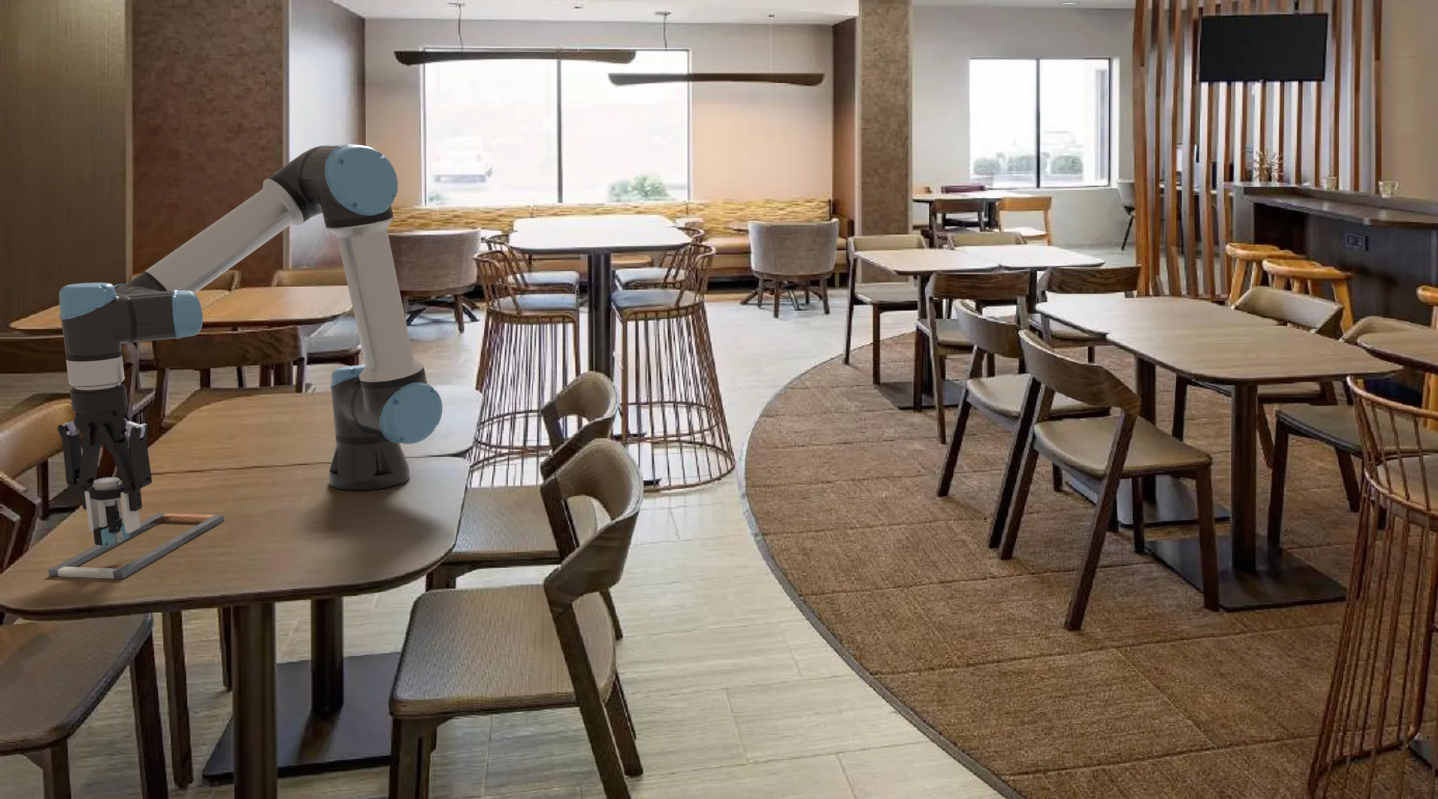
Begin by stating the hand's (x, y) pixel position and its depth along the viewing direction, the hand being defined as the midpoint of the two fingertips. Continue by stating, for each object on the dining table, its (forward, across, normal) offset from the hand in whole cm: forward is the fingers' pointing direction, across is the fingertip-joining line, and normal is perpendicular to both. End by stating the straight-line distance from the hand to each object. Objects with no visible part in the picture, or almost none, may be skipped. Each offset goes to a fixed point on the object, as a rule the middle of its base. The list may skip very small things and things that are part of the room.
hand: (115, 529), depth 176 cm
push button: (+2, 0, 0) cm, 2 cm away
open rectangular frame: (+5, 0, -6) cm, 8 cm away
